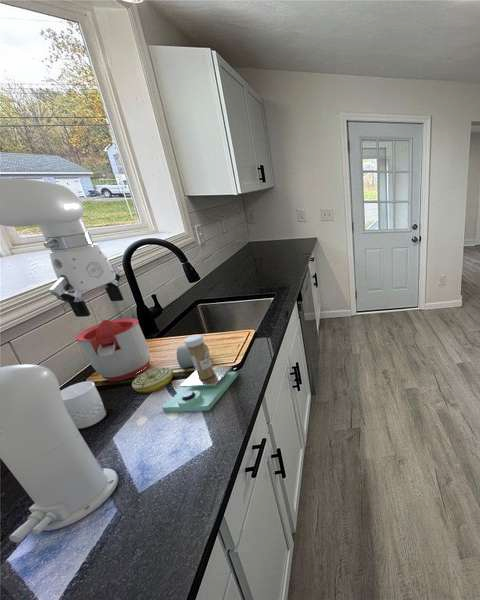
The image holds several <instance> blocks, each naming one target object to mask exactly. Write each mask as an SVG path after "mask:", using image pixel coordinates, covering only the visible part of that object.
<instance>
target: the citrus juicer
mask: <svg viewBox="0 0 480 600" xmlns="http://www.w3.org/2000/svg"><path fill="white" fill-rule="evenodd" d="M139 321H140V320H139V319H138V318H135V317H124V318H117V319H112V320H109V319H103V320H102V321H101V322H100V323H98V324H95V325H92V326H90V327H88V328H86V329H83V330H81V331H80V332H79V333H78V334H77V335H76V336H75V340H76V341H78V343H79V345H80V347H81V349H82V351H83V352H84V354H85V357H86V358H87V360H88V362H89V364H90V365H91V367H92V368H93V369H94V371H96V372H97V373H98V374H99V375H100V376H101V377H102V378H103V379H105V380H106V379H107V381H109V382H119V381H123V380H124V381H125V380H127V379H130V378H133V377H135V376H139V375H140V374H142V373H144V372H145V370H147V369H148V367H150V362H151V361H150V360H151V358H150V348H149V345H148V342H147V339H146V338H145V335H144V333H143V331H142V328H141V326H140V323H139ZM148 364H149V365H148ZM145 367H146V368H145ZM144 368H145V369H144ZM143 369H144V370H143ZM141 370H142V371H141ZM139 371H140V372H139ZM137 372H139V373H137ZM136 373H137V374H136Z"/></svg>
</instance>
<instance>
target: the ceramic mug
mask: <svg viewBox="0 0 480 600" xmlns="http://www.w3.org/2000/svg"><path fill="white" fill-rule="evenodd" d="M204 345H205V347H206V350H207V353H208V355H209V356H210V352H209V347H208V345H207V343H204ZM176 360H177V364H178V367H180V368H181V369H186V368H191V367H194V364H193V362H192V359H191V356H190V353H189V350H188V348H187V346H186V344H185V345H180V346H178V347H177V350H176Z"/></svg>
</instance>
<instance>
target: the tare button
mask: <svg viewBox="0 0 480 600" xmlns="http://www.w3.org/2000/svg"><path fill="white" fill-rule="evenodd" d="M194 396H195V395H194V393H193V391H188V392H186V393H184V394H183V399H184V400H185V401H187V400H190V399H192V398H194Z"/></svg>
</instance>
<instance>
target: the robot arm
mask: <svg viewBox="0 0 480 600" xmlns="http://www.w3.org/2000/svg"><path fill="white" fill-rule="evenodd" d="M84 212H85V208H84V204H83V201H82V199H81V198H80V197H79V195H78V194H77V193H76V192H74V191H73V190H72V189H70V188H68V187H67V186H65V185H63V184H58V183H54V182H48V181H43V180H35V179H24V178H13V177H0V226H5V227H10V228H11V227H12V228H20V227H22V228H23V227H35V226H38V228H39V230H40V232H41V233H42V236H43V238H44V240H45V241H44V242H43V246H44V248H45V249H49V250H50V252H49V258H50V262H51V265H52V268H53V271H54V273H55V277H56V279H57V280H56V281H55V282H54V283H53V284H52V286H50V287H49V289H48V292H49V293H50V294H51V295H53V296H54V297H56V299H57V300H59V301H62V302H64V303H66V304H67V303H68V304H69V306H70V308H71V310H72V312H73V314H74V316H75V317H77V318H80V317H81V318H82V317H84V318H85V317H89V316H91V311H90V310H89V308H88V306H87V304H86V301H85V300H83V299H82V295H83V293H84V292H89V291H91V290H95V289H96V288H100V287H102V286H105V287H104V288H105V292H106V294H107V296H108V298H109V300H110V301H111V302H122V301H124V296H123V294H122V292H121V290H120V287H119V286H120V284H121V283H120V280H121V275H120V274H121V273H120V272H121V269H120V267H118V266H114V265H112V264H111V263H110V261H109V259H108V257H107V256H106V254H105V253H104V251H103V250H102V249H101V247H100V246H99V245H98V243H94V241H93V239H92V236H91V235H90V232H89V230H88V228H87V225H86V223H85V221H84V218H83V215H84ZM81 299H82V300H81ZM60 391H61V389H60V384H59V381H58V378H57V376H56V374H55V373H54V371H52V370H51V369H49V368H48V367H45V366H42V365H39V364H29V363H28V364H27V363H26V364H13V365H7V366H6V365H5V366H1V367H0V459H1V461H2V462H3V463H4V464H5V466H6V467H7V468H8V470H9V472H11V474H12V475H13V476H14V478H15V479H16V480H17V482H18V483H19V484H20V486H21V487H22V488H23V490H24V491H25V492H26V493H27V495H28V496H29V497H30V499H31V500H32V501H33V503H32V505H31V506H29V508H28V510H29V512H30V513H31V514H29V515H28V516H27V520H26V521H25V522H23V524H21V525H20V526H19V527H18V528H16V529H15V530H14V531H13V532H12V533H11V534H10V535H9V536H8V539H9V540H10V541H11V542H13V543H21V542H22V541H23V540H24V538H26V537H27V536H28V535H29V534H30V533H33V534H34V535H39V534H41V533H42V531H54V530H58V529H62V528H65V527H68V526H70V525H72V524H74V523H76V522H78V521H80V520H82V519H83V518H85V517H87V516H88V515H90V514H91V513H92V512H94V511H95V510H96V509H98V508H99V507H100V506H101V505H103V504H104V503H105V502H106V501H107V499H108V498H109V497H111V495H112V494H113V492H114V491H115V489H116V487H118V483H119V476H118V474H117V472H116V471H115V469H111V468H107V467H104V468H102V467H101V466H100V464H99V462H98V461H97V459H96V458H95V456H94V454H93V452H92V451H91V449H90V447H89V445H88V444H87V442H86V441H85V439H84V437H83V435H82V434H81V432H80V430H79V429H77V427H76V426H75V424H74V422H73V421H72V419H71V417H70V415H69V414H68V412H67V410H66V407H65V405H64V403H63V400H62V396H61V392H60Z"/></svg>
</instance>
